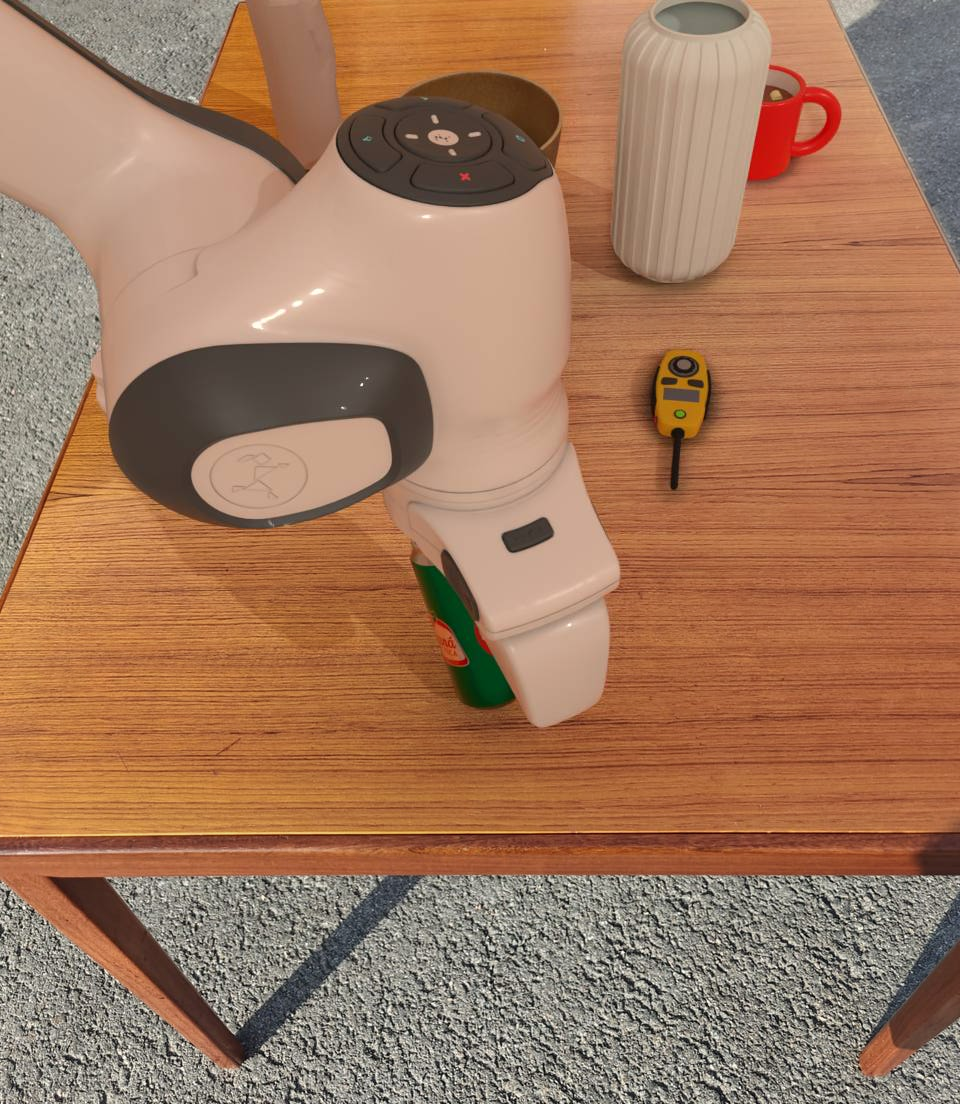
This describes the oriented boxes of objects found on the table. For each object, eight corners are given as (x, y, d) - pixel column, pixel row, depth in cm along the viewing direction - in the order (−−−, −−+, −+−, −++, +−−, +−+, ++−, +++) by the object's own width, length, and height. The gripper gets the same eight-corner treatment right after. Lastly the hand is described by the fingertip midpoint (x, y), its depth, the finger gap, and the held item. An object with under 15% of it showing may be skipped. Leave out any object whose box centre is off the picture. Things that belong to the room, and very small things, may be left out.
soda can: (450, 686, 63) (397, 531, 58) (519, 659, 64) (472, 504, 59) (469, 725, 58) (413, 561, 53) (543, 695, 59) (494, 530, 54)
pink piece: (399, 174, 99) (371, -31, 83) (275, 169, 101) (224, -32, 85) (412, 137, 103) (388, -65, 87) (293, 133, 105) (248, -65, 89)
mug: (835, 179, 94) (857, 103, 88) (715, 180, 95) (728, 105, 89) (824, 136, 99) (843, 62, 93) (710, 138, 100) (721, 64, 94)
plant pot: (379, 261, 91) (351, 102, 78) (513, 213, 94) (508, 52, 81) (445, 351, 82) (427, 189, 70) (589, 295, 86) (598, 131, 73)
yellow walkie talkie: (714, 348, 78) (708, 482, 70) (711, 365, 80) (704, 499, 71) (656, 343, 79) (642, 476, 70) (654, 360, 80) (640, 493, 72)
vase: (740, 293, 85) (792, 44, 67) (614, 299, 85) (632, 53, 67) (720, 218, 92) (763, -27, 74) (603, 224, 92) (618, -18, 74)
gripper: (333, 347, 48) (373, 513, 59) (505, 657, 37) (513, 789, 48) (445, 309, 49) (462, 478, 61) (643, 596, 38) (620, 739, 49)
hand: (486, 617), depth 54 cm, fingers closed
